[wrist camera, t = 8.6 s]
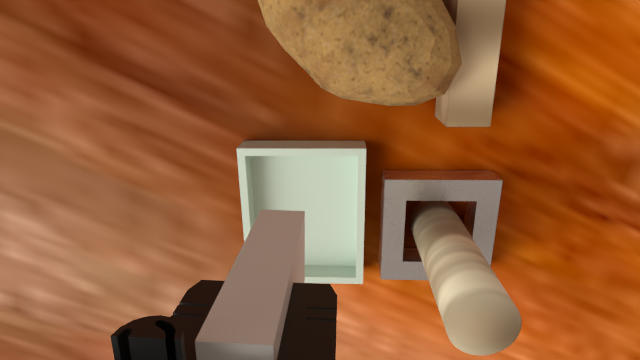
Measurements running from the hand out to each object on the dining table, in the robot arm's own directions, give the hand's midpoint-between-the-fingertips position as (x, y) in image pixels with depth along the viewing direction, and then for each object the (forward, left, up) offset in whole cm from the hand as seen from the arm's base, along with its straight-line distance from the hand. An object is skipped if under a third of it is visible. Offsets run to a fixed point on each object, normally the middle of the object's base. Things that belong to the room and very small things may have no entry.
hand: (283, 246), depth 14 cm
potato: (-7, +3, -21) cm, 22 cm away
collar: (+8, +10, -21) cm, 24 cm away
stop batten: (-8, +11, -21) cm, 24 cm away
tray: (+7, -1, -21) cm, 22 cm away
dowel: (+8, +10, -21) cm, 24 cm away
